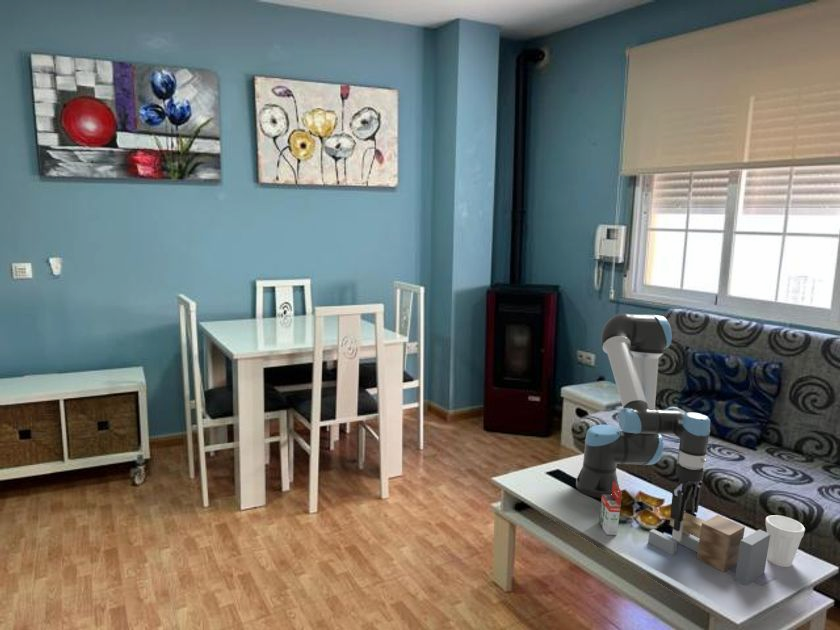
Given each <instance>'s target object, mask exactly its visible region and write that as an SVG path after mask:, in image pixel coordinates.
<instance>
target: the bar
mask: <svg viewBox="0 0 840 630" xmlns="http://www.w3.org/2000/svg"><path fill="white" fill-rule="evenodd" d="M669 518H670V517H669ZM683 521H684V526H683V531H684V532H686V533H689V534H690V535H691V536H693V537H695V538H697V539H700V532H701V525H702V523H703V522H705V521H706V520H703V519H701V518H699V517H698V516H696V517H695V516H693V515H690V514H688V513H686V512H684V516H683ZM669 525H670V526H672V527H673V525H674V519H672V518H670V520H669Z"/></svg>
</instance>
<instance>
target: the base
mask: <svg viewBox="0 0 840 630" xmlns="http://www.w3.org/2000/svg"><path fill="white" fill-rule="evenodd" d="M770 535H771V534H769V533H767V531H764V530H762V529H757V530H756V531H754V532H752V533H751V534H749V535H747V536H746V537H743V539H742V540H741V542H740V548H739V555H738V561H737V564H736V568H735V575H734V581H735V582H738V583H740V584H742V585H744V586H747V585H748V584H750V583H752V582H753V581H754V580H756V579H757V578H758V577H760V576H762V575H764V574H765V571H766V563H767V553H768V547H769V541H770ZM677 544H679V545H682V546H683V547H686V548H688V549H690V550H691V551H694V552H696V553H698V546H699V538H697V537H695V536H693V535H691V534H690V535H689V534H686V533H684V532H683V533H682V541H681V542H679V541H678V543H677Z"/></svg>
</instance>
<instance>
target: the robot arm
mask: <svg viewBox="0 0 840 630" xmlns="http://www.w3.org/2000/svg"><path fill="white" fill-rule="evenodd" d="M672 338H673V334H672V328H671V325H670V322H669V321H668V319H667V318H666V317H665V316H663V315H659V314H658V315H656V314H640V313H639V314H638V313H619V314H616V315H613V316H612V317H611V318H609V320H607V322H606V323H605V324H604V326H603V328H602V330H601V335H600V343H601V347H602V351H603V352H604V353H606V354H607V359H608V361H609V364H610V367H611V372H612V373H613V378H614V381H615V385H616V387H617V391H618V395H619V399H620V403H621V405H622V406H621V407H622V409H620V411H619V412H618V416H617V417H618V419H617V420H618V426H619V427H617V426H616V425H611V424H610V425H609V424H596V425H593V426H591V427H589V428H588V429H587V431H586V435H585V439H584V450H583V461H582V466H581V470H580V471H579V473H578V476H577V477H576V479H575V480H576V481H575V487H576V489H577V490H578V491H579V492H581V493H582V494H584V495H586V496H590V497H593V498H597V499H601V498H602V495H611V494H612V486H613V481H614V482H615V484H616V485H617V486H618V488H619V489H620V485H619V480H618V476H617V467H618V466H617V465H618V464H620V465H641V466H646V465H648V466H649V465H650V466H651V465H655V464H657V463H658V462H659V461H660V460H661V458H662V456H663V452H664V442H663V441H664V438H663V436H662V435H670V436H671V435H674V436H675V437H677V438H678V439H679V446H678V452H677V461H676V462H677V463H676V468H675V469H676V470H675V476H677V477H678V483H677V487H676V488H675V487H672V488H671V495H672V496H671V503H670V504H671V505H670V512H669V513H670V514H669V518H672V519H674V525H673V526H672V533H671V538H673V539H675V540H677V541H679V542H681V541H682V533H683V532H684V531H683V526H684V521H683V516H684V512H686V513H688V514H690V515H693V516H695V517H698V516H697V513H698V512H699V511H698V510H699V505H700V499H701V492H702V489H703V485H704V482H703V479H704V475H705V474H704V472H705V468H704V467H705V465H706V463H707V459H706V458H707V451H708V443H709V439H710V434H711V428H710V427H711V418H709V416H707V415H705V414H702V413H699V412H686V411H685V410H684V409H682V408H679V407H676V406H669V407H667V408H665V409H656V399H657V398H656V397H657V386H658V385H657V384H658V373H659V358H660V357H662V356H663V355H664V351H665V349H667V348H670V346H671V344H672ZM616 489H617V488H616ZM617 491H618V489H617ZM684 533H686V532H684ZM686 534H689V533H686ZM689 535H691V534H689Z"/></svg>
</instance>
